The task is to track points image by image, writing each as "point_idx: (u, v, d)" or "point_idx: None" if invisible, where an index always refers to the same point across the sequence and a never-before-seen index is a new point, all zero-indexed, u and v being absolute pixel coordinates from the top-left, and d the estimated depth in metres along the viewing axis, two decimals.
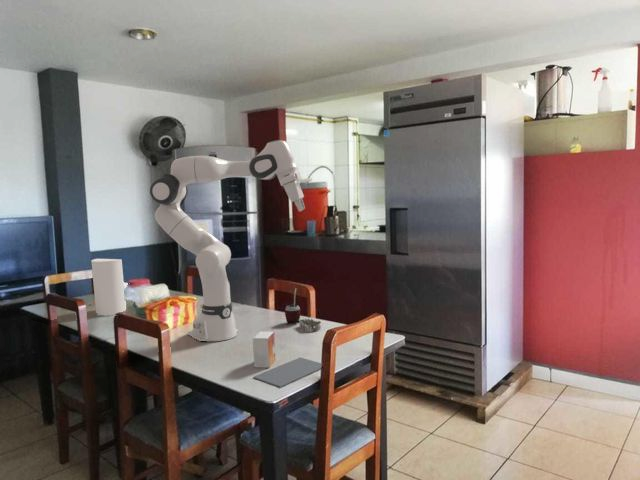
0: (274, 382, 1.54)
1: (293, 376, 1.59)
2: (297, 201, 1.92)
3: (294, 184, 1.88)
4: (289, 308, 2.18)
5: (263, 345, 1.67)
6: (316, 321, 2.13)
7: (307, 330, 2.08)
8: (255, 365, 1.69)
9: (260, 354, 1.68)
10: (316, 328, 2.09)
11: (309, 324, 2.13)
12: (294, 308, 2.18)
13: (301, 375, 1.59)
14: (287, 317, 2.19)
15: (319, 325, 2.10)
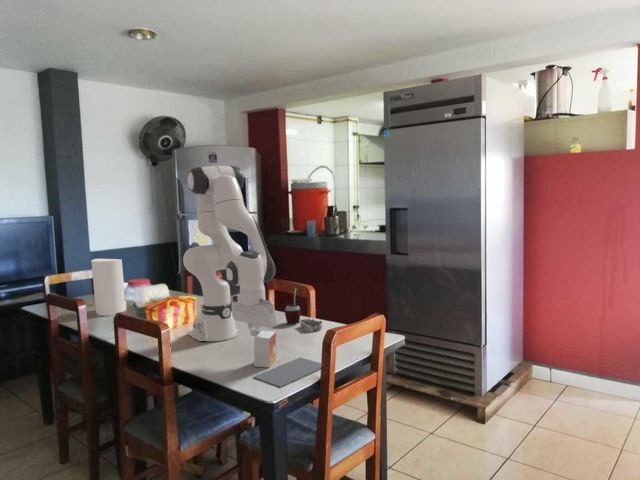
0: (274, 382, 1.54)
1: (293, 376, 1.59)
2: None
3: None
4: (289, 308, 2.18)
5: (264, 345, 1.67)
6: (317, 321, 2.13)
7: (309, 330, 2.08)
8: (255, 364, 1.69)
9: (261, 353, 1.68)
10: (317, 328, 2.09)
11: (310, 324, 2.13)
12: (294, 308, 2.18)
13: (301, 375, 1.59)
14: (287, 317, 2.19)
15: (320, 325, 2.10)
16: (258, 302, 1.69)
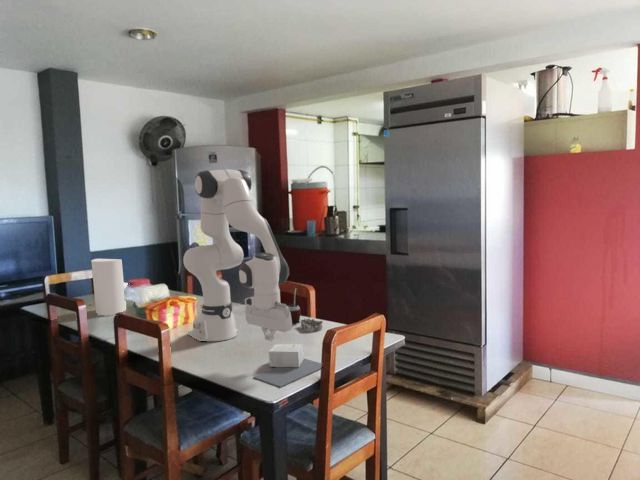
0: (274, 382, 1.54)
1: (293, 376, 1.59)
2: None
3: None
4: (289, 308, 2.18)
5: (291, 362, 1.66)
6: (317, 321, 2.13)
7: (309, 330, 2.08)
8: (270, 352, 1.67)
9: (282, 359, 1.67)
10: (318, 328, 2.09)
11: (310, 324, 2.13)
12: (294, 308, 2.18)
13: (301, 375, 1.59)
14: None
15: (321, 325, 2.10)
16: (273, 305, 1.64)
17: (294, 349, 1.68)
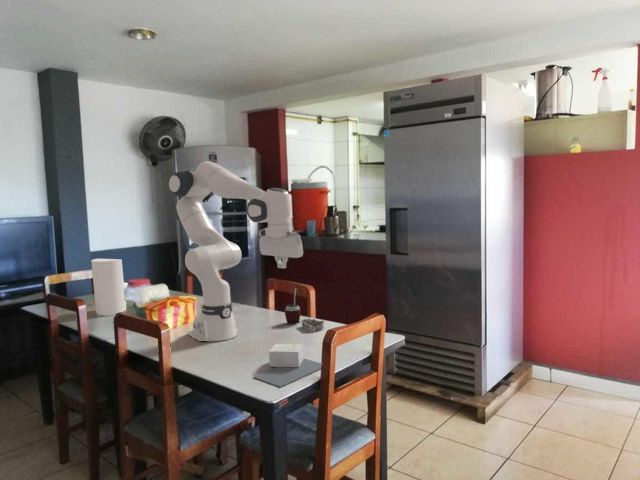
0: (274, 382, 1.54)
1: (293, 376, 1.59)
2: None
3: None
4: (289, 308, 2.18)
5: (291, 362, 1.66)
6: (319, 321, 2.13)
7: (311, 330, 2.08)
8: (270, 352, 1.67)
9: (282, 359, 1.67)
10: (319, 328, 2.09)
11: (312, 324, 2.13)
12: (294, 308, 2.18)
13: (301, 375, 1.59)
14: (287, 317, 2.19)
15: (322, 325, 2.10)
16: (286, 234, 1.80)
17: (294, 349, 1.68)
